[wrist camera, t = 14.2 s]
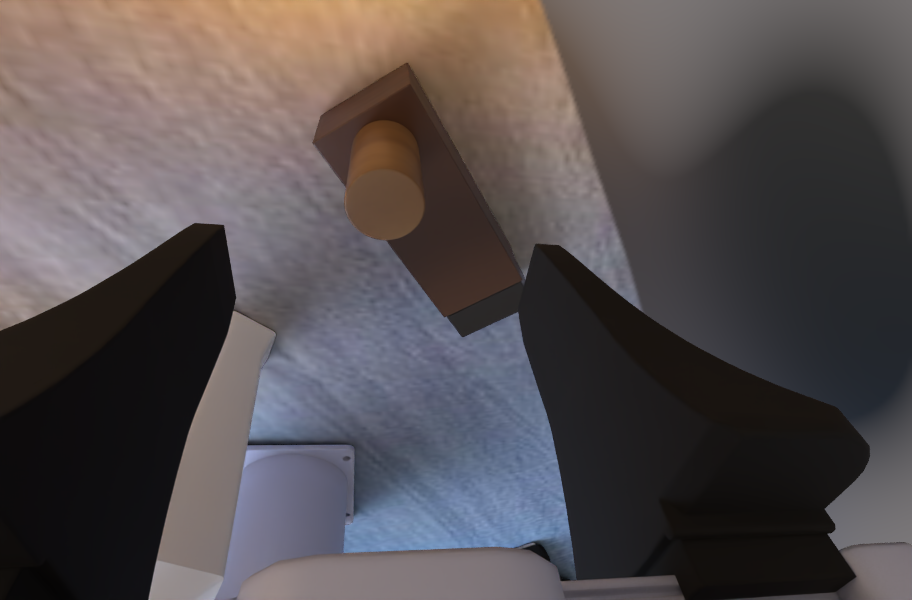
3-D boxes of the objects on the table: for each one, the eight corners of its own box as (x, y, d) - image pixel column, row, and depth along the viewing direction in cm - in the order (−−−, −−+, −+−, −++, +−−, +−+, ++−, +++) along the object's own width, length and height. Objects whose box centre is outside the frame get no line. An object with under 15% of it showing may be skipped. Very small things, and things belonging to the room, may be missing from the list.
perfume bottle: (280, 307, 25) (189, 656, 14) (285, 368, 28) (212, 703, 16) (182, 302, 25) (-3, 668, 13) (197, 365, 27) (54, 716, 16)
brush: (320, 115, 20) (295, 195, 15) (407, 61, 19) (415, 126, 14) (454, 302, 26) (471, 404, 21) (523, 269, 26) (559, 366, 20)
